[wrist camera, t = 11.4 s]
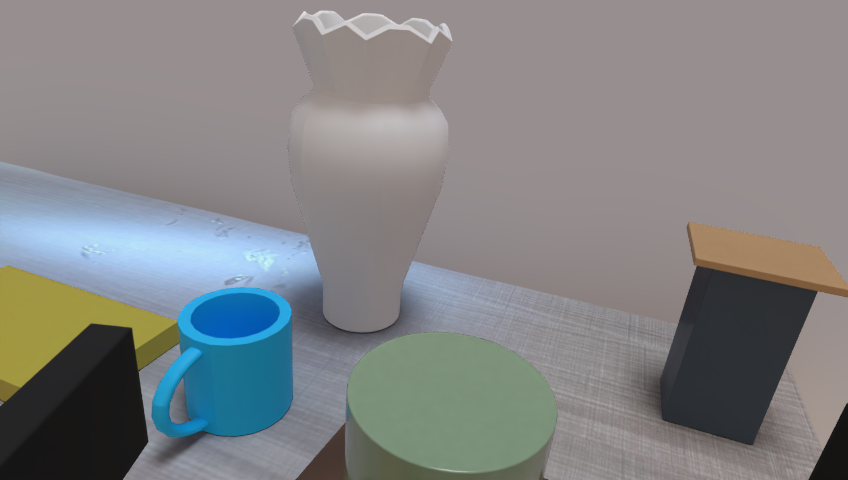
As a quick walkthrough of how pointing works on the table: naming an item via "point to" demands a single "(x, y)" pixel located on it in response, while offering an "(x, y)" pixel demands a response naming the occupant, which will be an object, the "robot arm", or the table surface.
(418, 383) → the green coffee cup
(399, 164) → the vase
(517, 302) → the table surface
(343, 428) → the rack
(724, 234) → the stand
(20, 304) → the flat olive board
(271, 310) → the mug
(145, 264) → the table surface
